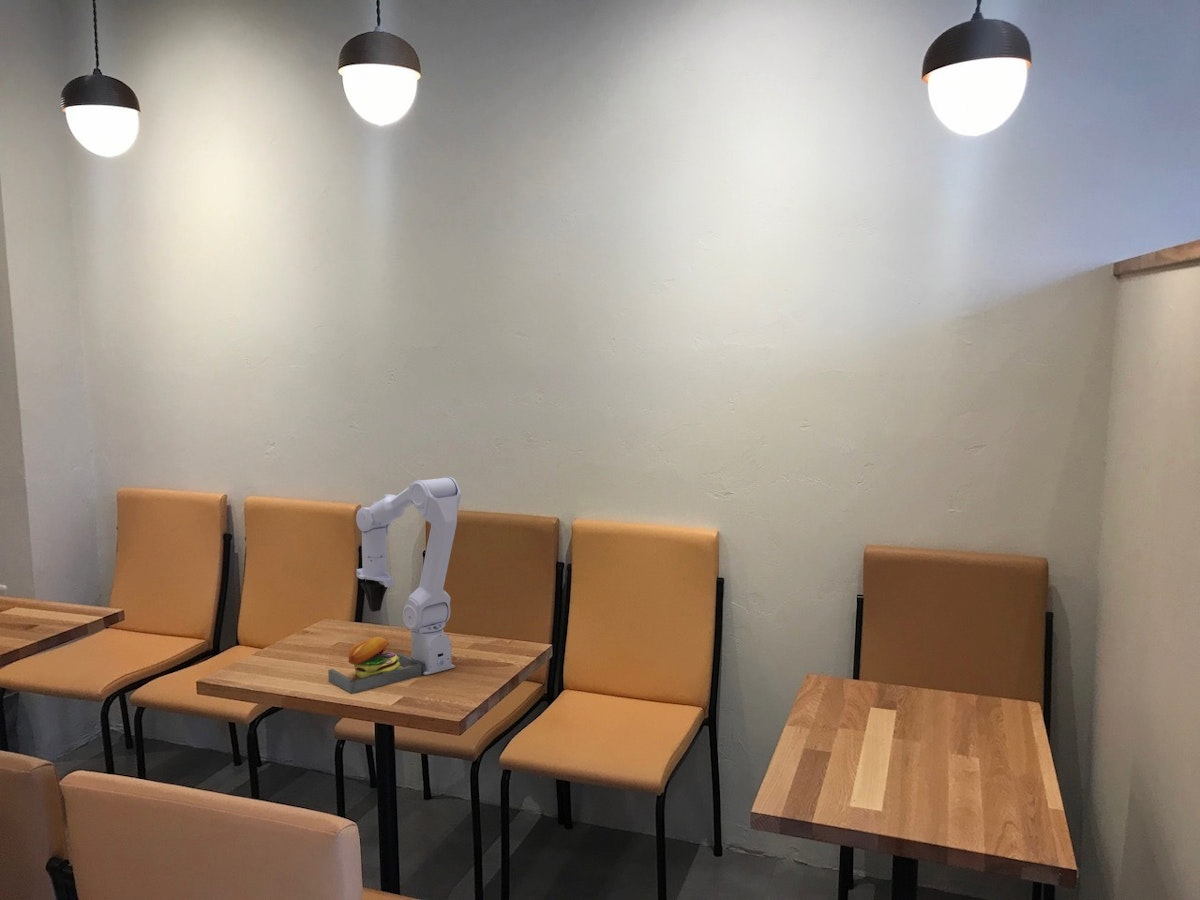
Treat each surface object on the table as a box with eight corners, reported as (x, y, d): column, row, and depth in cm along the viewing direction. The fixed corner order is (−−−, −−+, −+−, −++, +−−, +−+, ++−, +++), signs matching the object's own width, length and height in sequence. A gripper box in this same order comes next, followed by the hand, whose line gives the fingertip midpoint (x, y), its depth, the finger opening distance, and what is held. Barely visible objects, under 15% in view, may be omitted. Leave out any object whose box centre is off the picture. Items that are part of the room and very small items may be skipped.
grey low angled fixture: (425, 674, 210) (424, 663, 209) (351, 693, 198) (351, 682, 197) (400, 663, 217) (400, 652, 217) (328, 681, 205) (328, 669, 205)
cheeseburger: (396, 684, 203) (384, 641, 202) (349, 695, 204) (337, 651, 203) (408, 668, 213) (397, 627, 212) (363, 678, 214) (352, 637, 213)
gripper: (344, 553, 229) (346, 607, 230) (374, 562, 218) (375, 619, 220) (370, 549, 234) (371, 602, 235) (401, 558, 223) (401, 614, 225)
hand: (375, 610), depth 228 cm, fingers closed
